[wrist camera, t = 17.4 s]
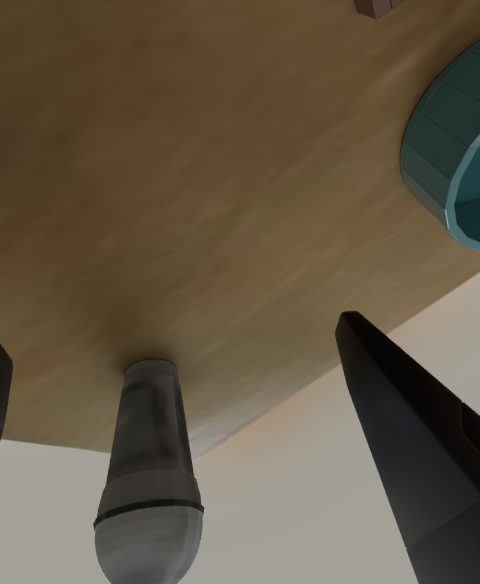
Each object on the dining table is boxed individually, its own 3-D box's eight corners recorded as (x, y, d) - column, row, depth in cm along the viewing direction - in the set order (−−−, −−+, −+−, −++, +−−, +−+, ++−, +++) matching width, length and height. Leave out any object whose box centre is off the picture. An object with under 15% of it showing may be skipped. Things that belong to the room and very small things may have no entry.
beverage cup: (97, 357, 30) (47, 732, 16) (186, 343, 31) (212, 693, 17) (121, 401, 35) (99, 714, 21) (197, 388, 36) (224, 684, 22)
